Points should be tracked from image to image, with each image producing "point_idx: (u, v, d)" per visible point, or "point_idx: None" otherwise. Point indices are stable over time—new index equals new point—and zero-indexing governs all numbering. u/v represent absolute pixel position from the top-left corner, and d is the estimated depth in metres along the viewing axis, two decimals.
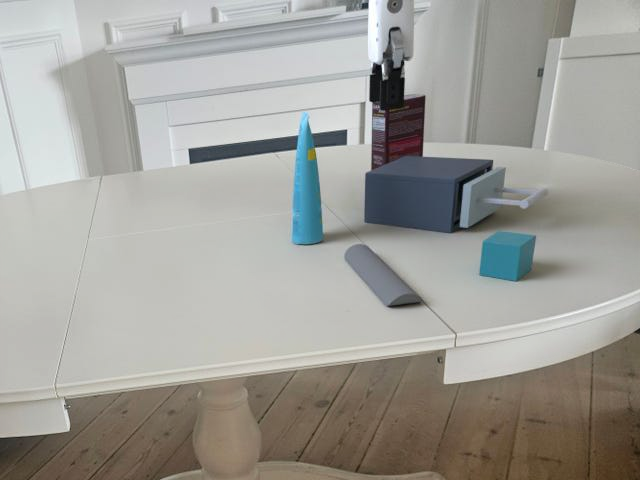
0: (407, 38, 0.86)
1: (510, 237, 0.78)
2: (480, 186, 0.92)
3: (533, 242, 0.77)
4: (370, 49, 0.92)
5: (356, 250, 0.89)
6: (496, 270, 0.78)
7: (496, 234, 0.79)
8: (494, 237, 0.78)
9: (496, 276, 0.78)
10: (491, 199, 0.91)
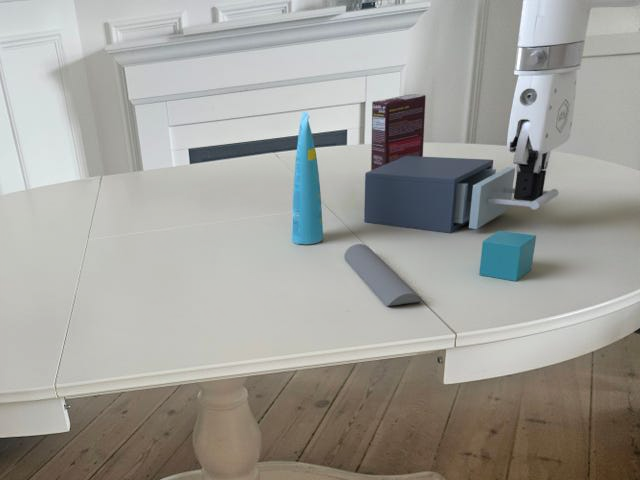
0: (536, 132, 0.82)
1: (510, 237, 0.78)
2: (489, 187, 0.91)
3: (533, 242, 0.77)
4: None
5: (356, 250, 0.89)
6: (496, 270, 0.78)
7: (496, 234, 0.79)
8: (494, 237, 0.78)
9: (496, 276, 0.78)
10: (501, 200, 0.91)
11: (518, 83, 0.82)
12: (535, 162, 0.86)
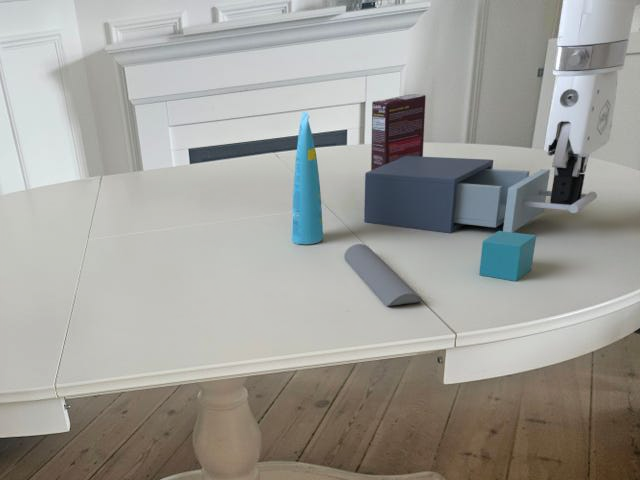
0: (577, 135, 0.79)
1: (510, 237, 0.78)
2: (525, 189, 0.88)
3: (533, 242, 0.77)
4: None
5: (356, 250, 0.89)
6: (496, 270, 0.78)
7: (496, 234, 0.79)
8: (494, 237, 0.78)
9: (496, 276, 0.78)
10: (537, 203, 0.87)
11: (558, 84, 0.79)
12: (574, 165, 0.83)
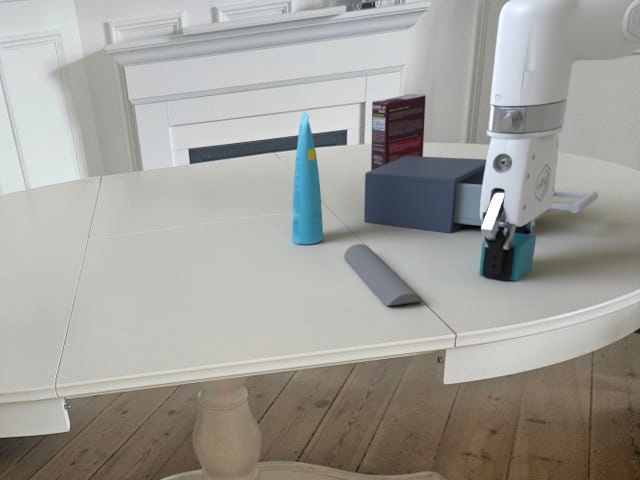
0: (512, 203, 0.71)
1: None
2: None
3: (533, 242, 0.77)
4: None
5: (356, 250, 0.89)
6: None
7: None
8: None
9: None
10: None
11: (491, 147, 0.71)
12: (507, 235, 0.74)
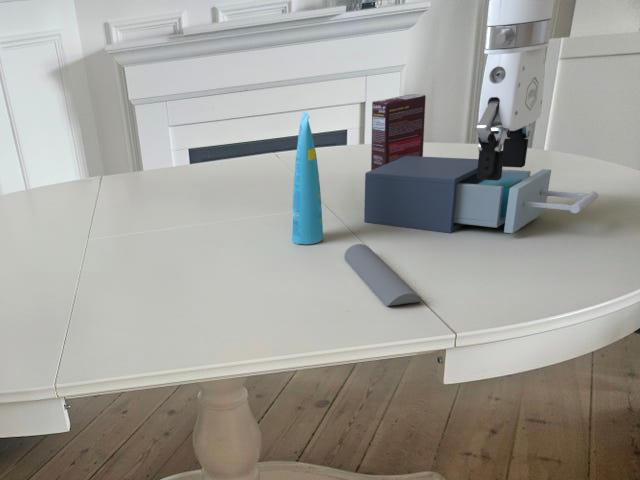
0: (506, 110, 0.84)
1: (500, 180, 0.93)
2: (526, 189, 0.88)
3: None
4: None
5: (356, 250, 0.89)
6: None
7: None
8: (487, 181, 0.94)
9: None
10: (538, 203, 0.87)
11: (487, 62, 0.84)
12: (498, 137, 0.86)
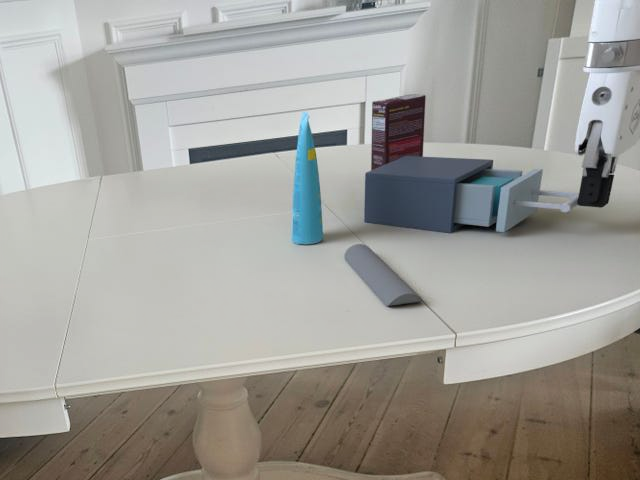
0: (610, 134, 0.76)
1: (492, 180, 0.94)
2: (517, 189, 0.89)
3: None
4: None
5: (356, 250, 0.89)
6: None
7: (481, 178, 0.95)
8: (479, 180, 0.94)
9: None
10: (529, 202, 0.88)
11: (590, 81, 0.76)
12: (604, 166, 0.81)
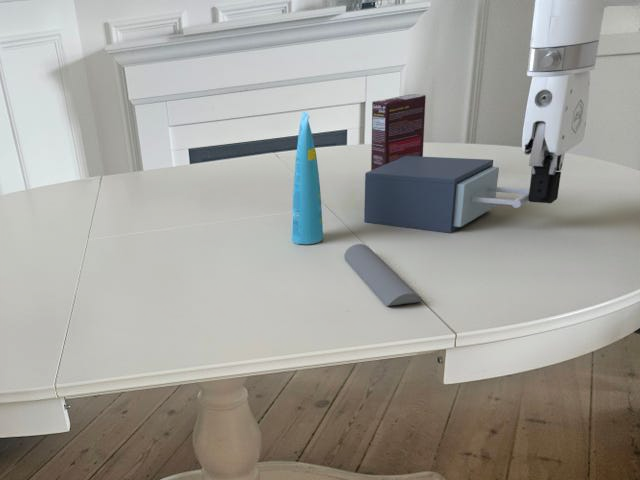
0: (552, 134, 0.81)
1: None
2: (473, 185, 0.93)
3: None
4: None
5: (356, 250, 0.89)
6: None
7: None
8: None
9: None
10: (484, 198, 0.92)
11: (532, 85, 0.81)
12: (550, 164, 0.85)
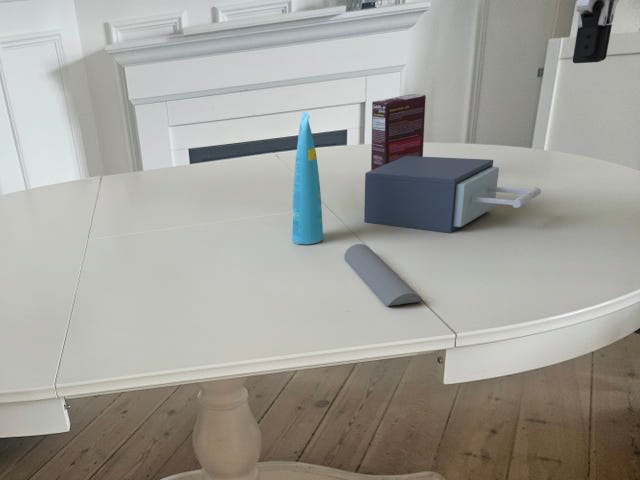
0: None
1: None
2: (473, 185, 0.93)
3: None
4: None
5: (356, 250, 0.89)
6: None
7: None
8: None
9: None
10: (484, 198, 0.92)
11: None
12: (601, 11, 0.75)
